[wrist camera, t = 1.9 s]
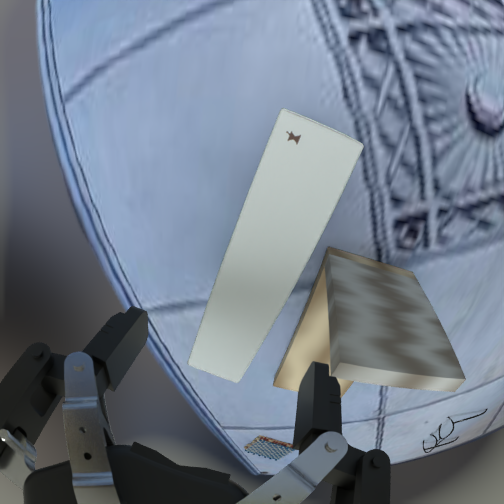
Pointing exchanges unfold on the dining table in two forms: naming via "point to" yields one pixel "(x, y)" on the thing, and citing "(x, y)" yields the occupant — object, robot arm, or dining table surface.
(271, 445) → the woven mat
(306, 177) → the skincare box
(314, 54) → the dining table surface
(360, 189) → the dining table surface
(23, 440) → the robot arm
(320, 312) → the wooden bookend
